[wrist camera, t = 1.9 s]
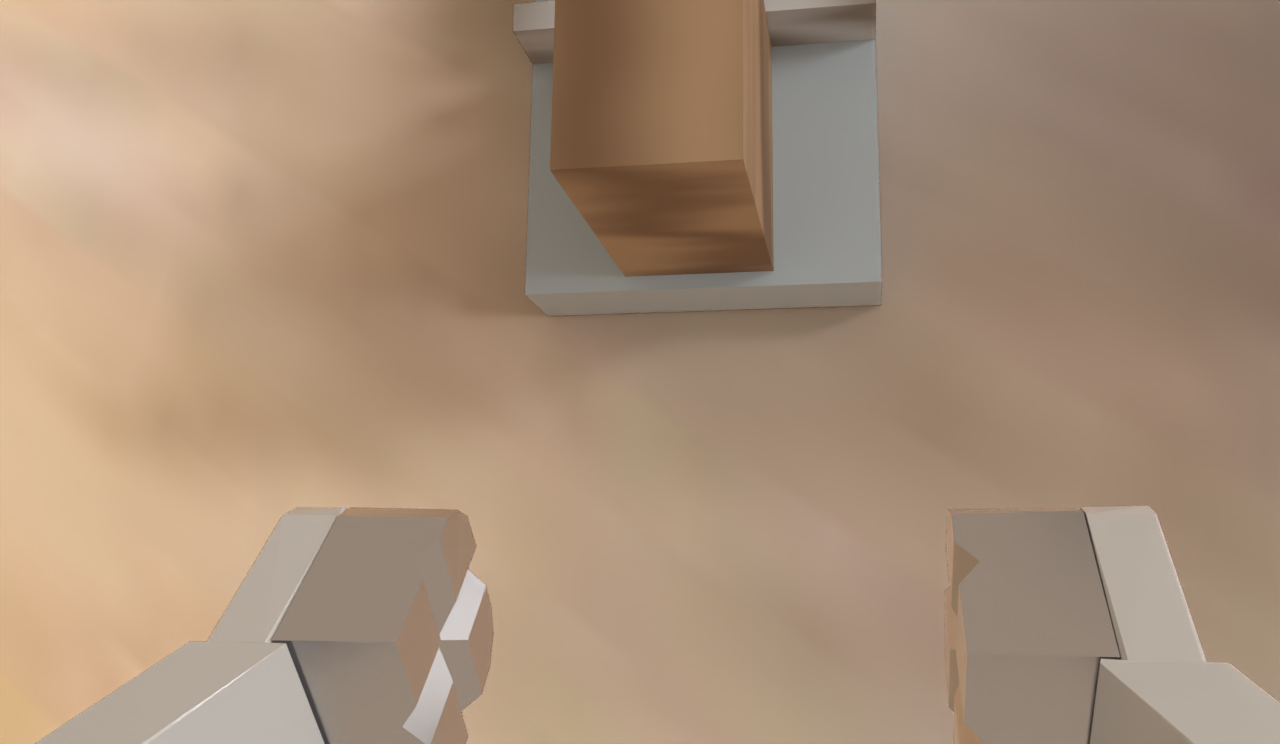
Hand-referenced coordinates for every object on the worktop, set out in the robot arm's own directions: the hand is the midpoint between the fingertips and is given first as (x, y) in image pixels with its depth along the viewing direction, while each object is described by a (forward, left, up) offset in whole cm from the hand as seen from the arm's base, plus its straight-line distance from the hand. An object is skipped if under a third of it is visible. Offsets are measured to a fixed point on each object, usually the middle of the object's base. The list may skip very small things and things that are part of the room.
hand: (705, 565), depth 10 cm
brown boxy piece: (+4, -15, -28) cm, 32 cm away
